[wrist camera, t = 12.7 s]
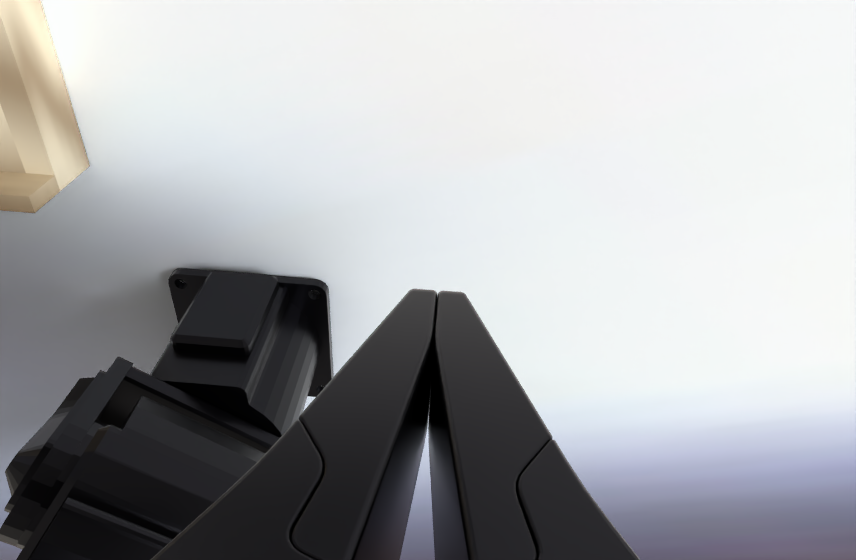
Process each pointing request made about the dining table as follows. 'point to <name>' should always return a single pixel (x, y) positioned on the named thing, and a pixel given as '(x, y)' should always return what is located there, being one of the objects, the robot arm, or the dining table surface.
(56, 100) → the trap box
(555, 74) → the dining table surface
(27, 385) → the dining table surface
